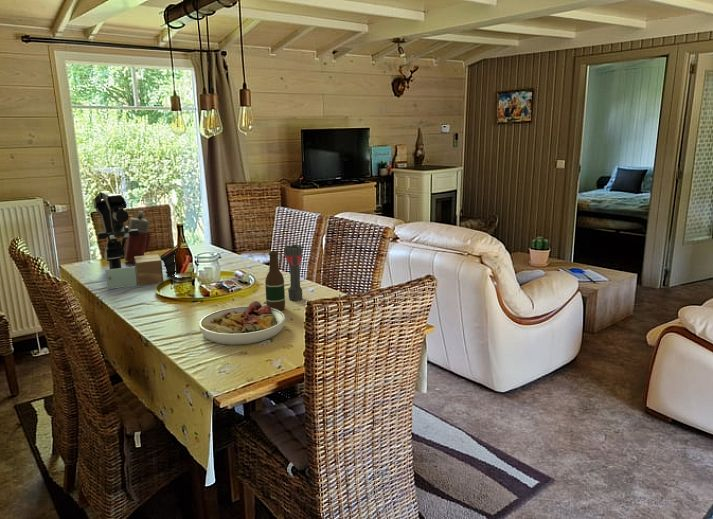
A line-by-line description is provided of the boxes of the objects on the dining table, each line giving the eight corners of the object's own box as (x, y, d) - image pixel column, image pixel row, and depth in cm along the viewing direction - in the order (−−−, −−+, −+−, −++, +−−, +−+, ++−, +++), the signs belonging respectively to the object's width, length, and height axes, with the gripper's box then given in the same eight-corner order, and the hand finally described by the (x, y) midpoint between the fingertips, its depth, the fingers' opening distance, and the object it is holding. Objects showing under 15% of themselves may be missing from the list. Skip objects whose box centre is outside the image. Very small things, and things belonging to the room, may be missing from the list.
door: (107, 290, 247) (105, 270, 245) (107, 289, 249) (105, 269, 247) (138, 285, 253) (136, 266, 251) (138, 284, 255) (136, 265, 253)
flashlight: (293, 294, 237) (291, 243, 232) (307, 297, 234) (305, 245, 228) (282, 299, 231) (279, 246, 226) (297, 301, 227) (294, 248, 222)
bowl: (269, 350, 177) (268, 328, 175) (184, 345, 182) (182, 323, 181) (295, 320, 206) (294, 300, 204) (221, 316, 211) (220, 297, 209)
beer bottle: (289, 307, 220) (286, 250, 214) (280, 313, 213) (277, 254, 207) (272, 305, 222) (269, 248, 217) (262, 311, 215) (259, 253, 210)
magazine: (195, 269, 277) (181, 245, 270) (174, 284, 271) (158, 260, 264) (192, 267, 280) (178, 244, 273) (171, 282, 274) (155, 258, 267)
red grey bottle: (147, 263, 301) (154, 213, 298) (125, 261, 295) (133, 210, 292) (145, 260, 309) (152, 211, 305) (124, 257, 303) (131, 208, 300)
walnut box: (136, 278, 268) (134, 256, 265) (159, 275, 272) (157, 254, 270) (139, 285, 255) (136, 262, 252) (163, 282, 259) (161, 260, 257)
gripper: (96, 224, 254) (100, 256, 258) (138, 220, 262) (142, 252, 266) (96, 220, 264) (100, 251, 267) (137, 217, 272) (140, 248, 275)
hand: (120, 251), depth 269 cm, fingers closed
